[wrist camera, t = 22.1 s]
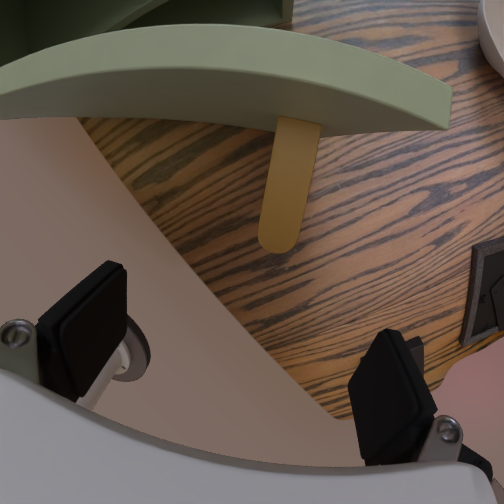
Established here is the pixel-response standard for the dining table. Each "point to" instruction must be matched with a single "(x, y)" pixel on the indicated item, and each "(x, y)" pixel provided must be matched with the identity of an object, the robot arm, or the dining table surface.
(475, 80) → the dining table surface
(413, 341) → the switch block
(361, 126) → the cabinet door
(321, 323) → the dining table surface
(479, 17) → the bowl
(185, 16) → the cabinet
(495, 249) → the picture frame
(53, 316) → the robot arm
